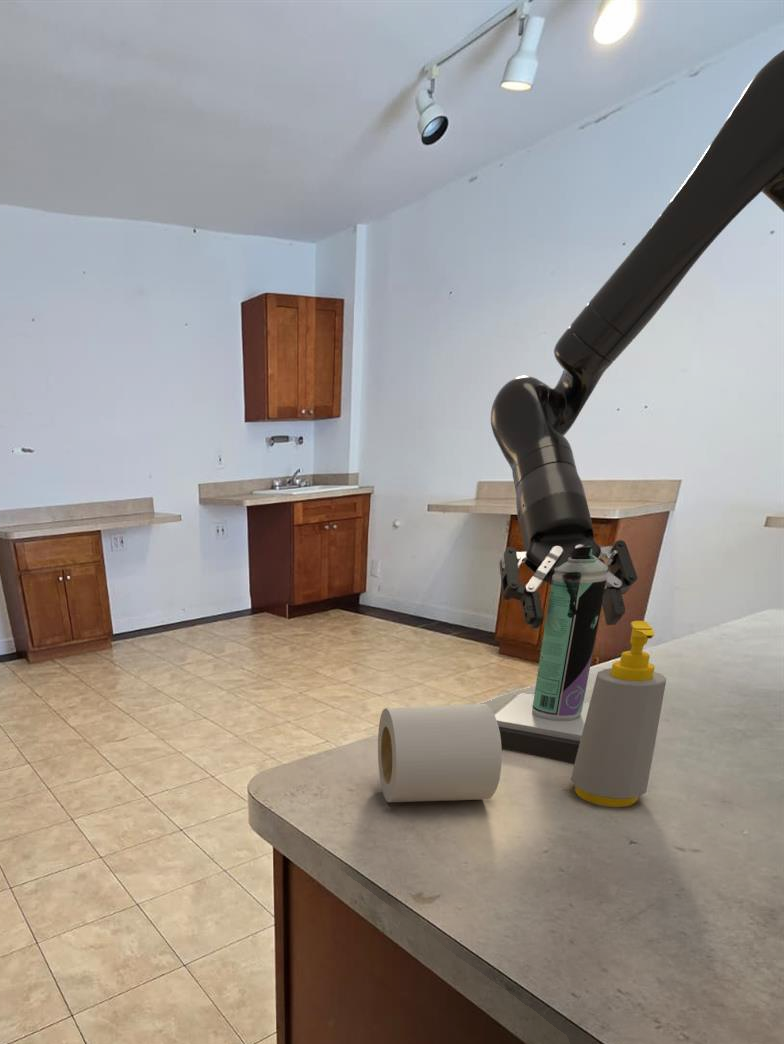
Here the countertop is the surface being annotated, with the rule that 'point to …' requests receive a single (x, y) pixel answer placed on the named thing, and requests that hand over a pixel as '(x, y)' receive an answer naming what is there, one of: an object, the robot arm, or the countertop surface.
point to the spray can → (569, 636)
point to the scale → (538, 730)
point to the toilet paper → (439, 753)
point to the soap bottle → (620, 728)
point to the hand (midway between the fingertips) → (576, 623)
